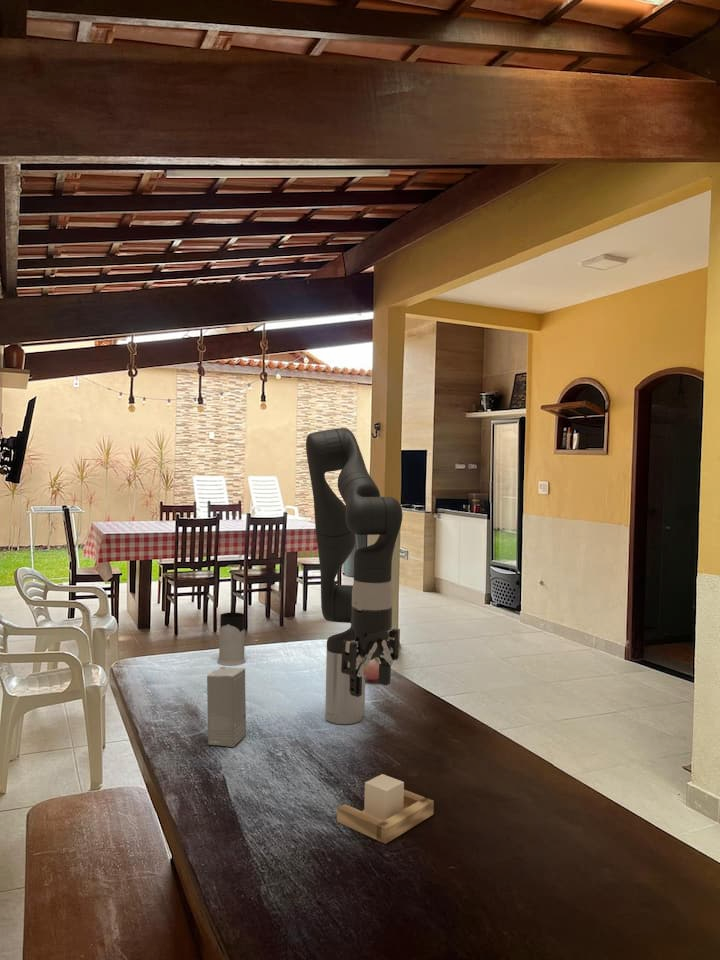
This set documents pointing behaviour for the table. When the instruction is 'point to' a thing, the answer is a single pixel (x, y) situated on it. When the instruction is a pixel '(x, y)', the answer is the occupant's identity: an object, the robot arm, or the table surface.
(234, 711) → the skincare box
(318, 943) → the table surface
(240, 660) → the glass holder
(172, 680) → the table surface
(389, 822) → the rest cradle
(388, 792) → the block
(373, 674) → the decorative fruit
